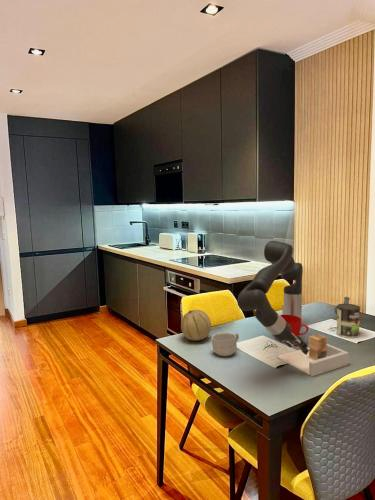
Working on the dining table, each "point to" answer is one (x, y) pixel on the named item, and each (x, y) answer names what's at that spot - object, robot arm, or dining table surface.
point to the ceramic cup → (294, 324)
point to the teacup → (225, 343)
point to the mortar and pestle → (346, 301)
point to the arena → (315, 367)
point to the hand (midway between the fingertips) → (299, 348)
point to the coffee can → (348, 320)
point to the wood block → (317, 347)
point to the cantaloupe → (196, 325)
